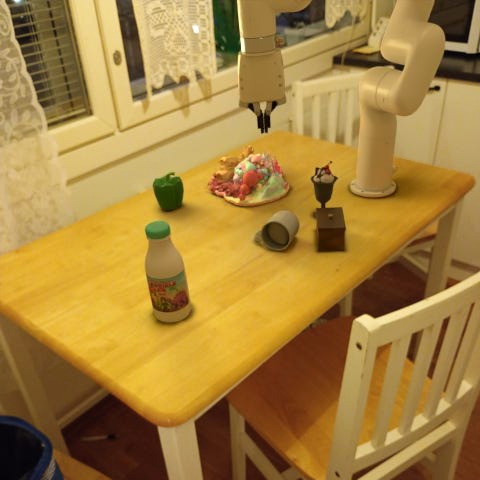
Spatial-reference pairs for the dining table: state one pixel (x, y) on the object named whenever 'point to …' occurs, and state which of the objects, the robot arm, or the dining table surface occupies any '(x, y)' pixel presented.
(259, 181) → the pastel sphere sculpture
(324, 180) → the sundae
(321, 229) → the tea box
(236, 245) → the dining table surface
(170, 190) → the bell pepper
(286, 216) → the ceramic mug
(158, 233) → the milk bottle
